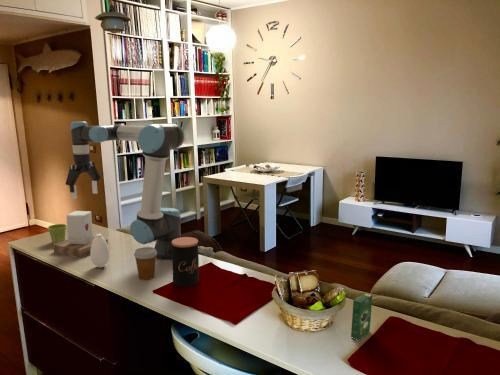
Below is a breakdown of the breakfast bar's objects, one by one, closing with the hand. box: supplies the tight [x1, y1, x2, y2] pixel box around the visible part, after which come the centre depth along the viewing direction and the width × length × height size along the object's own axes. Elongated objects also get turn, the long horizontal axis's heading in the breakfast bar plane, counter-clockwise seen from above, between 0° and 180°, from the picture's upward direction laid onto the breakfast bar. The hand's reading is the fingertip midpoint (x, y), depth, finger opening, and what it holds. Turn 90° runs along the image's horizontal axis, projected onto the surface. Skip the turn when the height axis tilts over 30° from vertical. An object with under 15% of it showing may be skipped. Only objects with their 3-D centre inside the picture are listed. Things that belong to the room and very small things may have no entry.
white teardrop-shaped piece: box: [89, 228, 110, 269], centre depth 186 cm, size 8×8×18 cm
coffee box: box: [350, 292, 373, 341], centre depth 132 cm, size 8×3×13 cm, turn 137°
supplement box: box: [66, 210, 94, 245], centre depth 208 cm, size 9×9×15 cm
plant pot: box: [47, 223, 67, 245], centre depth 221 cm, size 9×9×9 cm
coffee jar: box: [171, 236, 200, 288], centre depth 170 cm, size 11×11×18 cm
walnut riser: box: [52, 236, 109, 259], centre depth 210 cm, size 18×18×4 cm
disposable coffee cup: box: [133, 246, 157, 281], centre depth 176 cm, size 10×10×12 cm
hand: (85, 196), depth 207 cm, fingers open, 13 cm apart
